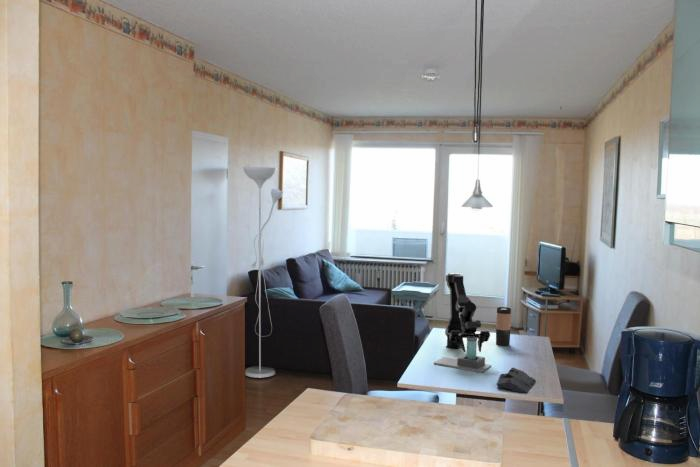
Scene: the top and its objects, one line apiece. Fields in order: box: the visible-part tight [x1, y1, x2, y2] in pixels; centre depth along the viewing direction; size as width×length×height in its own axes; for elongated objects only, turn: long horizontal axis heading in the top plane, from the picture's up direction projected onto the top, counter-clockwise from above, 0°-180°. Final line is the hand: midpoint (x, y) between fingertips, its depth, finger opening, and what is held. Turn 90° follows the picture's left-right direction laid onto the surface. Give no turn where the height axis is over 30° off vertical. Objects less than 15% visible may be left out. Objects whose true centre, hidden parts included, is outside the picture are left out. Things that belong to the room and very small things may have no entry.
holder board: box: [433, 353, 492, 374], centre depth 276 cm, size 24×12×4 cm, turn 59°
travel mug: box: [495, 306, 512, 347], centre depth 318 cm, size 8×8×20 cm
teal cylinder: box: [466, 336, 478, 360], centre depth 275 cm, size 5×5×13 cm
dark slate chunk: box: [496, 367, 537, 394], centre depth 250 cm, size 15×22×5 cm
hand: (472, 351), depth 273 cm, fingers open, 7 cm apart
